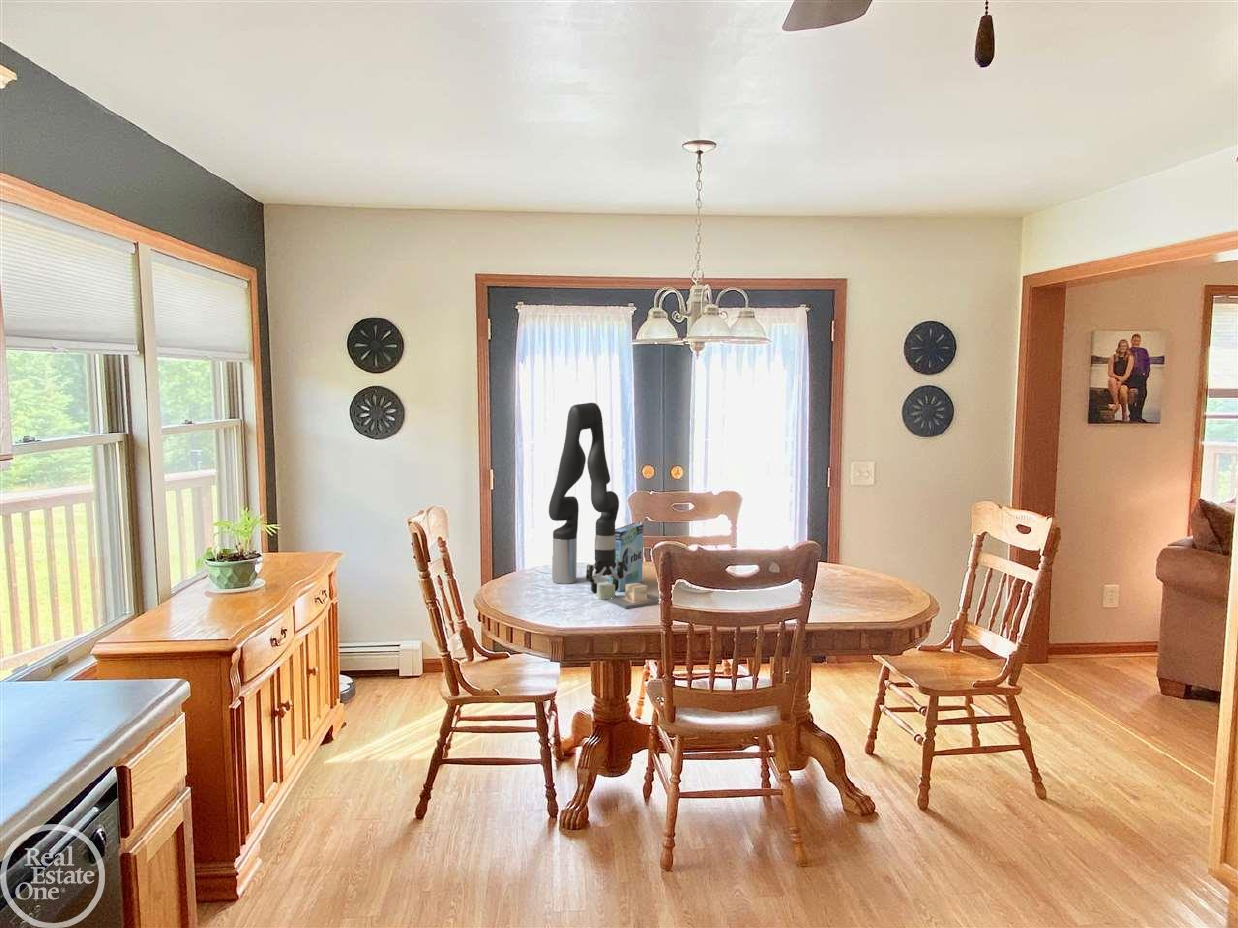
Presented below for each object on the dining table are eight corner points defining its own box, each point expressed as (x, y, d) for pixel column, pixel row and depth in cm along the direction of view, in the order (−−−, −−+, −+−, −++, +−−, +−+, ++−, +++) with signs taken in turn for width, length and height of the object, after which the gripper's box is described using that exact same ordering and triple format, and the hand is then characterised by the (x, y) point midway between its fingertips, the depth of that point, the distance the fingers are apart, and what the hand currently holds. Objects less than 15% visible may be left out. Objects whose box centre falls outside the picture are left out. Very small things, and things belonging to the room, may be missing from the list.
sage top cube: (595, 597, 293) (596, 583, 293) (607, 595, 296) (607, 581, 295) (603, 600, 289) (603, 586, 288) (615, 598, 292) (615, 584, 291)
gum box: (631, 580, 320) (632, 522, 318) (643, 581, 318) (644, 523, 316) (608, 590, 303) (609, 530, 301) (620, 592, 300) (621, 531, 298)
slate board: (608, 601, 287) (608, 598, 287) (646, 595, 295) (646, 592, 295) (625, 608, 277) (625, 605, 277) (663, 602, 286) (663, 599, 286)
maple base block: (625, 598, 287) (625, 584, 287) (638, 596, 290) (638, 582, 290) (633, 601, 282) (634, 587, 282) (646, 599, 285) (647, 585, 285)
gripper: (616, 543, 297) (616, 587, 298) (582, 547, 290) (582, 591, 291) (627, 547, 291) (627, 591, 292) (593, 550, 283) (592, 596, 285)
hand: (604, 591), depth 292 cm, fingers open, 8 cm apart
